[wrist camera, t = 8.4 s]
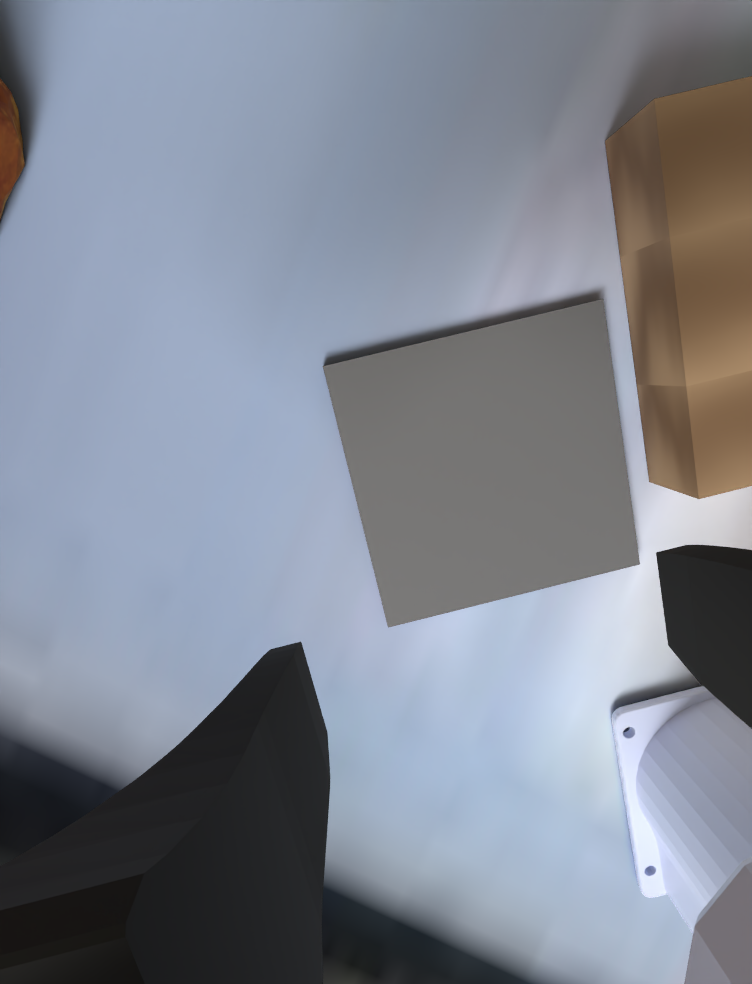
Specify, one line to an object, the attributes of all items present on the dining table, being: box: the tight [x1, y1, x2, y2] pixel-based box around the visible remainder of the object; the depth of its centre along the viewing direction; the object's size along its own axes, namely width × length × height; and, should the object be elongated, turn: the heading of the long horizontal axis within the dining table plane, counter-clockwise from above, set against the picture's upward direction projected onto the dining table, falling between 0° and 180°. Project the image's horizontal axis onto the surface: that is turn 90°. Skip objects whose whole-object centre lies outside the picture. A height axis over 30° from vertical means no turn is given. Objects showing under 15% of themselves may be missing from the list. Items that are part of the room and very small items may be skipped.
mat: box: [323, 299, 640, 627], centre depth 21 cm, size 10×10×1 cm
